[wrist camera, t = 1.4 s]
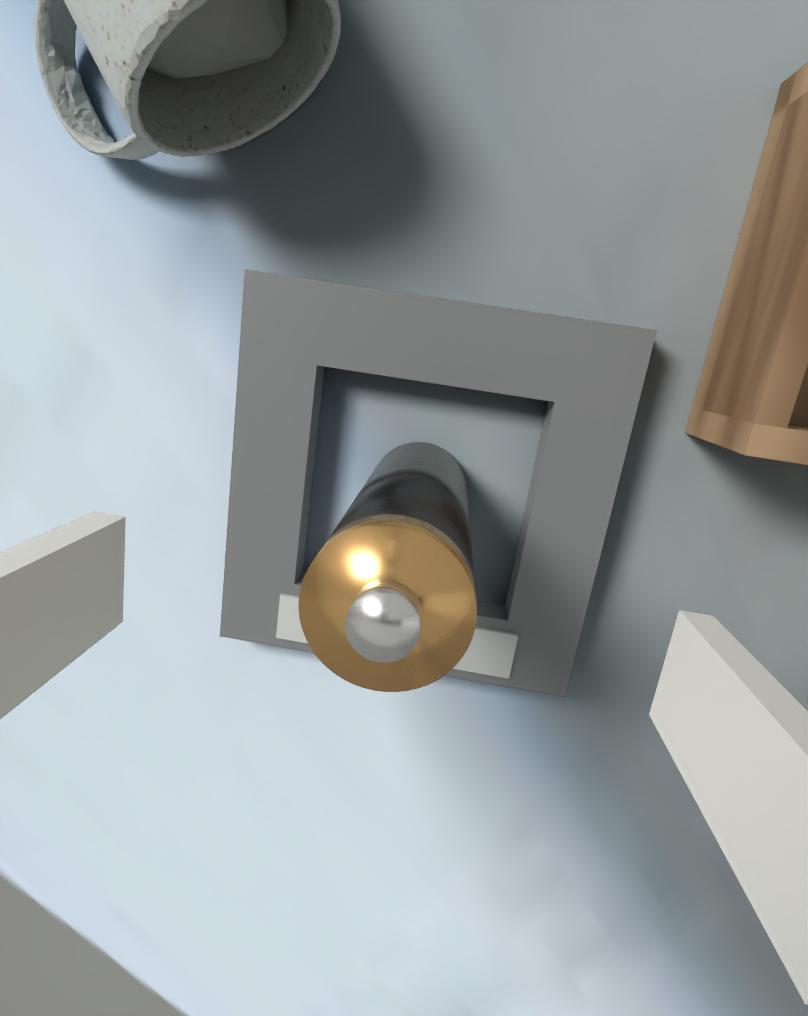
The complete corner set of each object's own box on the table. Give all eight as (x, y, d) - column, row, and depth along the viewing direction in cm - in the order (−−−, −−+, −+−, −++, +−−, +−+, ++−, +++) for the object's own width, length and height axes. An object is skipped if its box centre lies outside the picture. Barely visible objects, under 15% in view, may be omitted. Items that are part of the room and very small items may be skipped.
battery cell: (377, 434, 25) (298, 523, 12) (475, 450, 24) (494, 555, 12) (365, 527, 26) (281, 694, 13) (458, 542, 25) (460, 726, 13)
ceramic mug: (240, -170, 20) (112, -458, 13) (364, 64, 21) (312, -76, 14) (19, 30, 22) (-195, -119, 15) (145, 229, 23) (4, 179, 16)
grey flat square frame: (258, 274, 23) (243, 268, 22) (644, 331, 23) (658, 330, 21) (232, 620, 27) (218, 638, 26) (559, 677, 27) (565, 699, 25)
